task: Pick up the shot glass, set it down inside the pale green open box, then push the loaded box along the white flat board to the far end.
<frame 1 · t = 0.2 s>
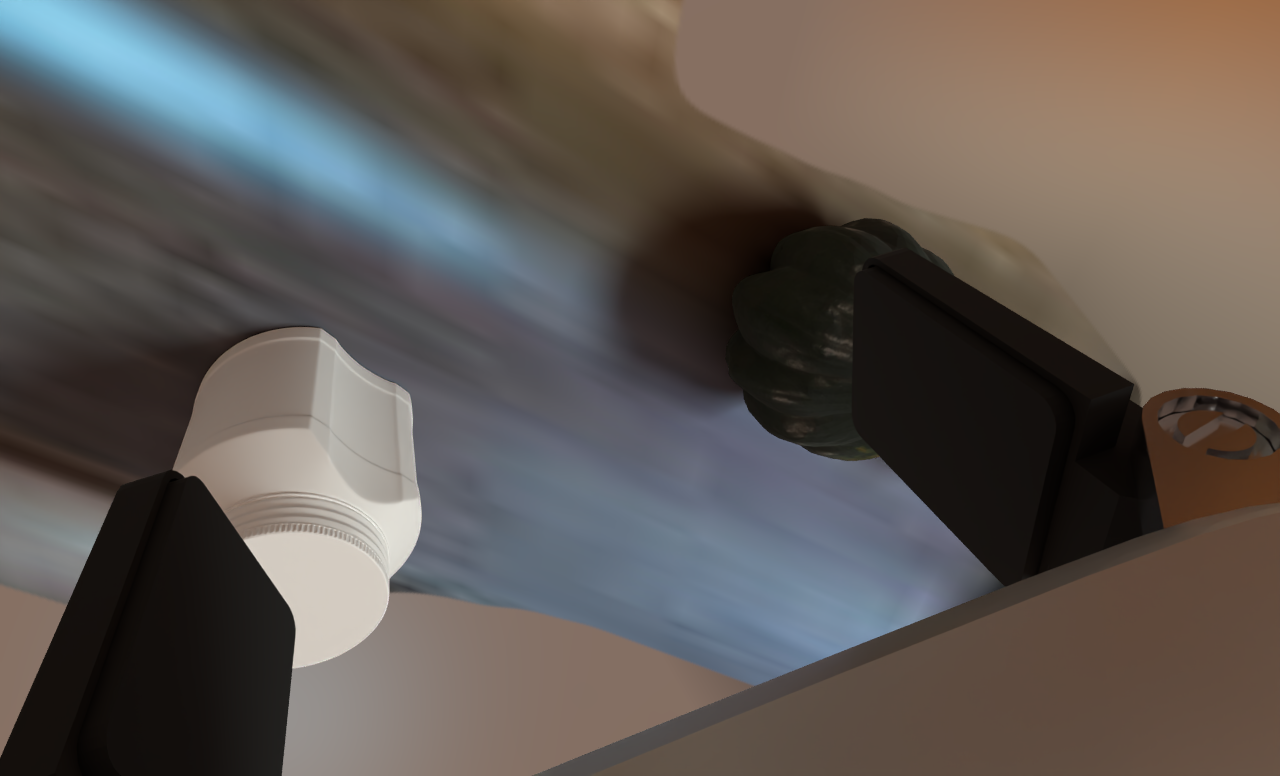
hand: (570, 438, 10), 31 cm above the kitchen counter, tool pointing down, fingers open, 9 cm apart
jar: (309, 411, 43), on the kitchen counter
squash: (797, 300, 50), on the kitchen counter
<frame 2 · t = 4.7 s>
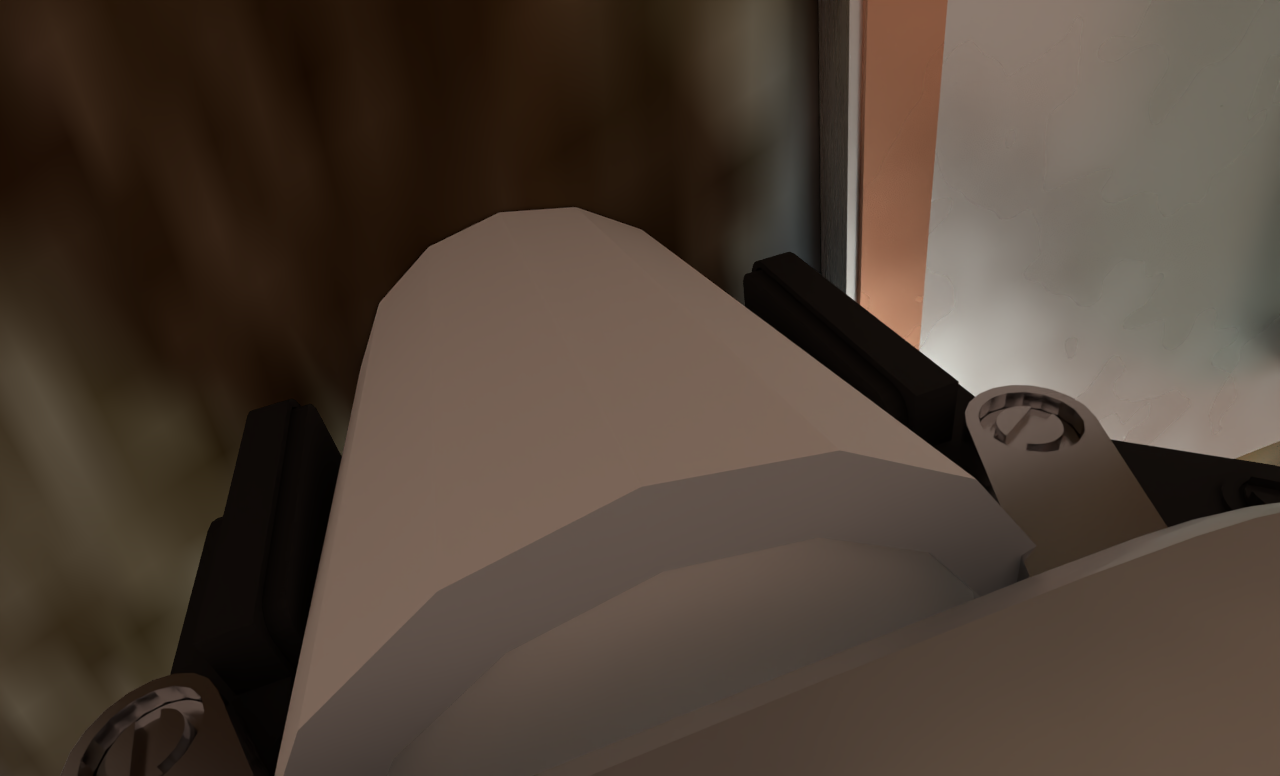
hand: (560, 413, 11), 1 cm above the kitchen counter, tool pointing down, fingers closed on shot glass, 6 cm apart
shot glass: (543, 369, 12), on the kitchen counter, touching gripper
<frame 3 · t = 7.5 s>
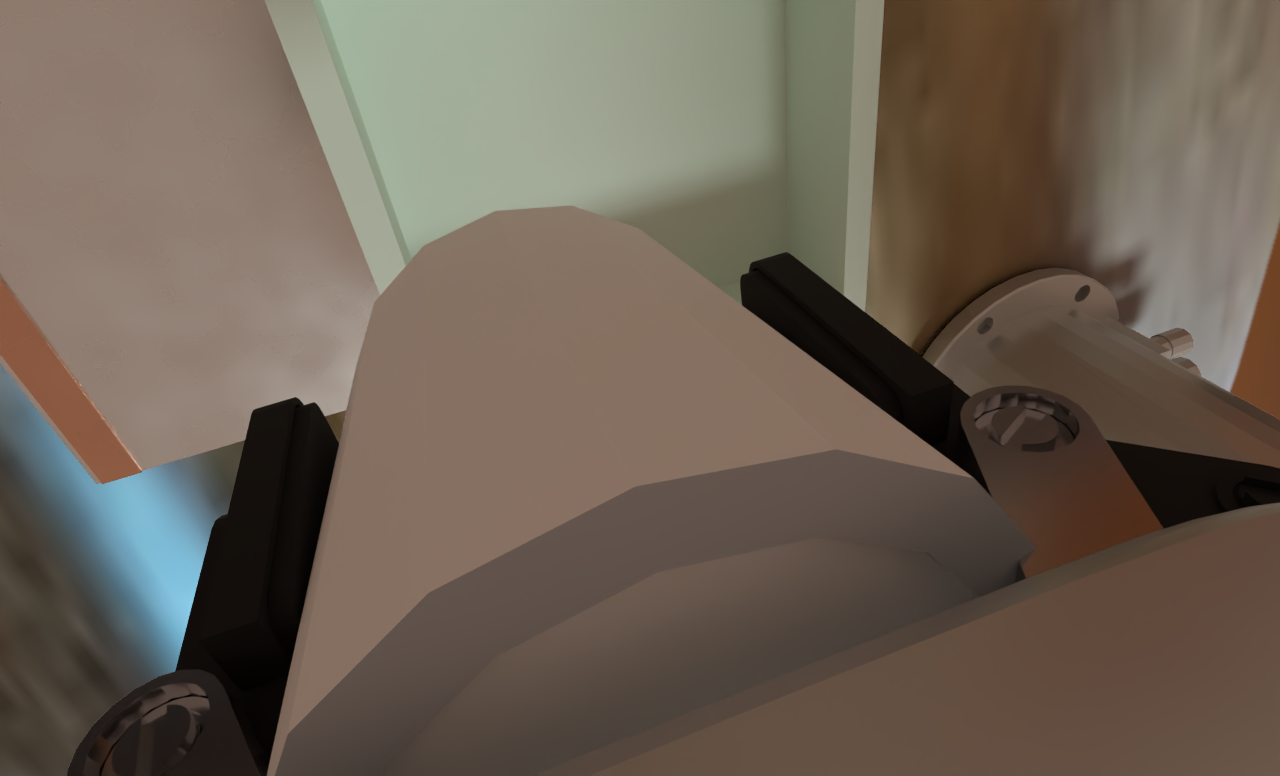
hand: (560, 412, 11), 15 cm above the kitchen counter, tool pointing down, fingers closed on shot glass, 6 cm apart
pale green open box: (603, 139, 20), point 4 cm above the kitchen counter, slide at 0.0 cm
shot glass: (539, 368, 12), point 14 cm above the kitchen counter, touching gripper
white flat board: (412, 143, 22), on the kitchen counter
when the fingers open (6 cm above the kitchen counter, at t = 10.3 s): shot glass drops 1 cm, resting on pale green open box.
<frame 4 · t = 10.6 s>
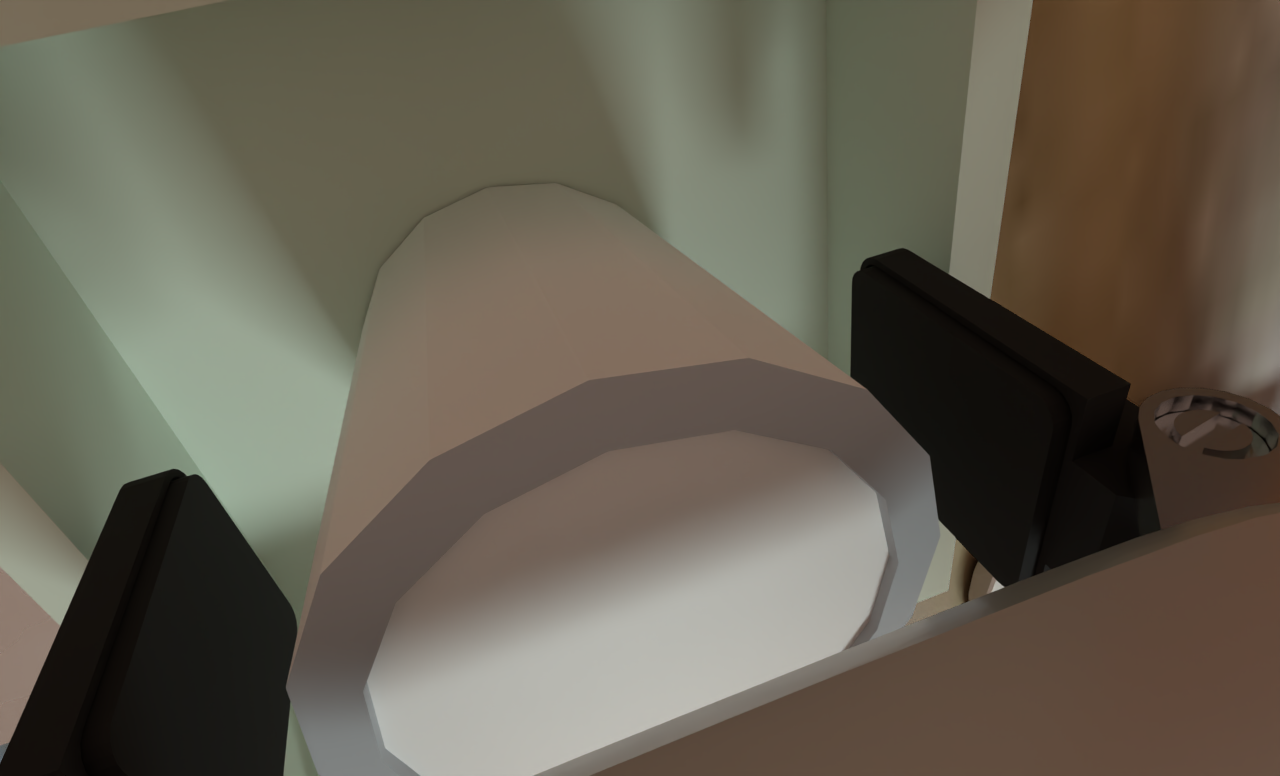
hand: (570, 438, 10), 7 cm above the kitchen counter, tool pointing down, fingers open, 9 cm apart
pale green open box: (533, 351, 12), point 4 cm above the kitchen counter, slide at 0.0 cm, touching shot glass
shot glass: (528, 332, 13), point 3 cm above the kitchen counter, touching pale green open box
white flat board: (264, 329, 15), on the kitchen counter
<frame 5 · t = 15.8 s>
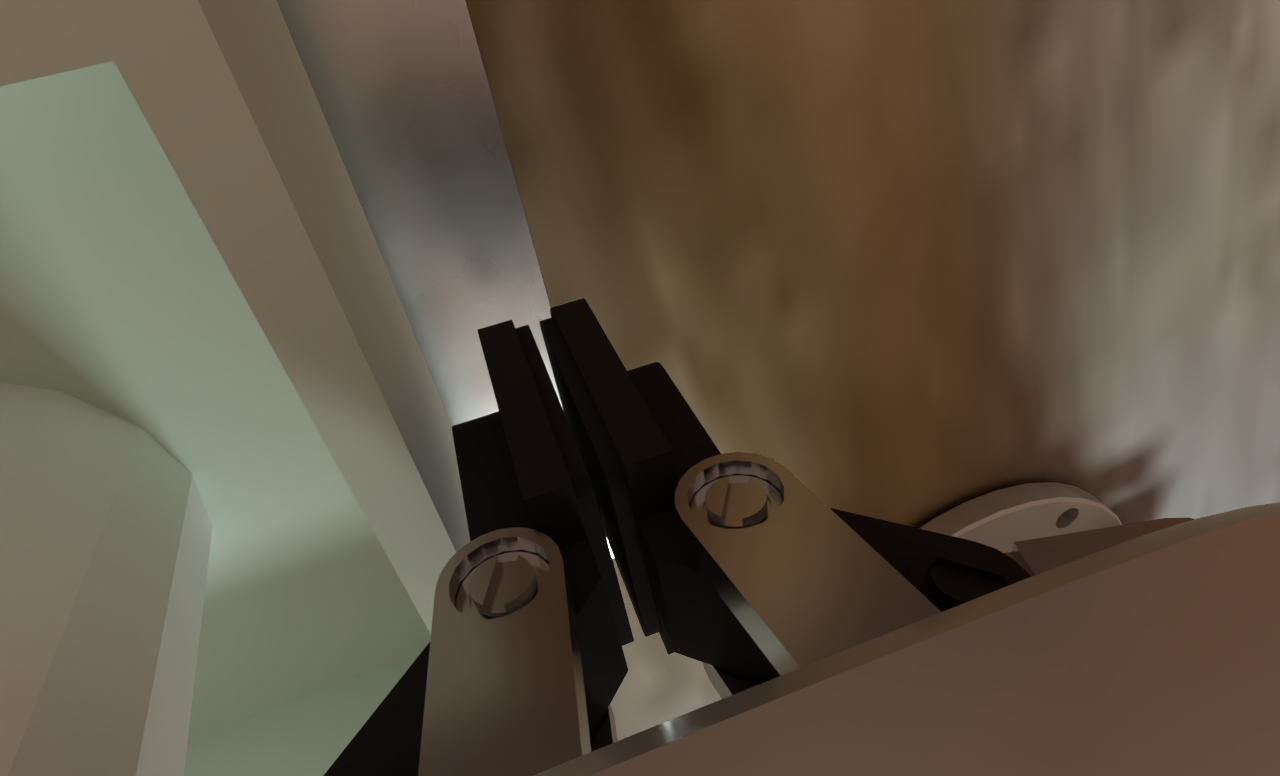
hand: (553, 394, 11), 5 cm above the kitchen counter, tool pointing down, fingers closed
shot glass: (11, 524, 11), point 3 cm above the kitchen counter, touching pale green open box
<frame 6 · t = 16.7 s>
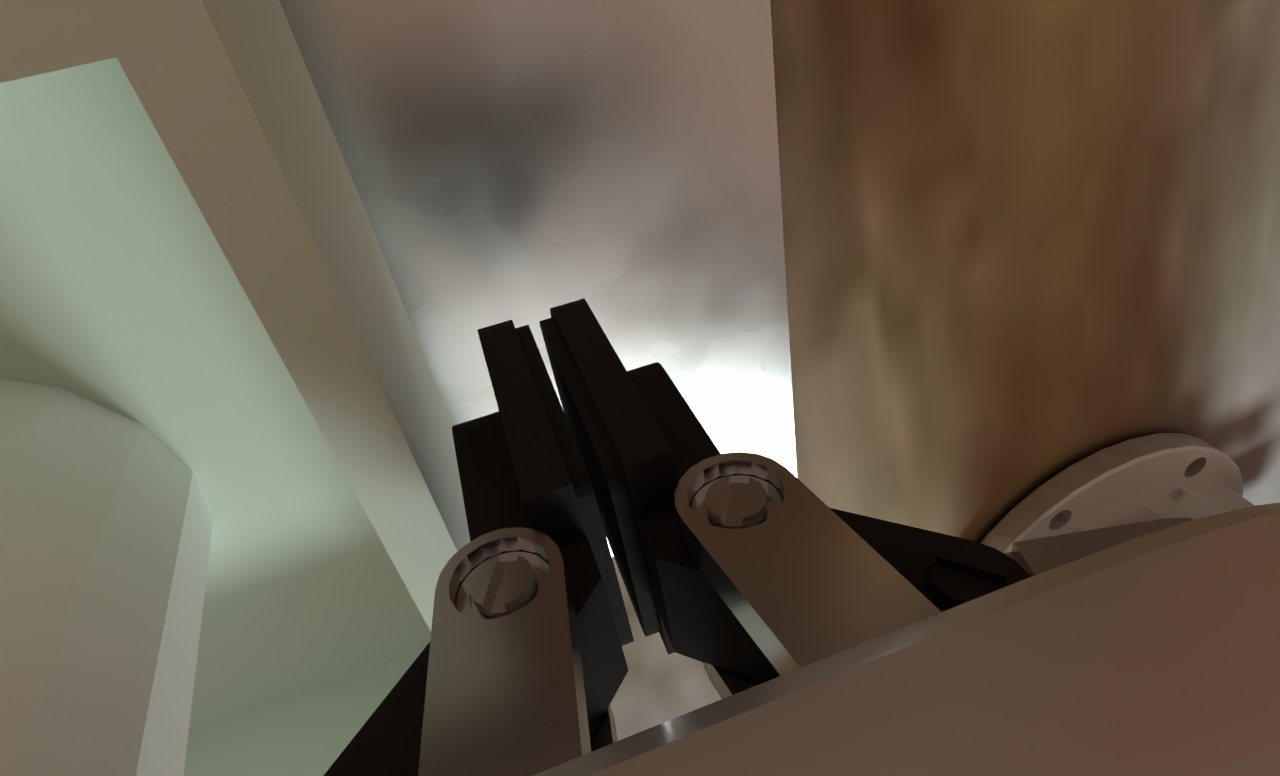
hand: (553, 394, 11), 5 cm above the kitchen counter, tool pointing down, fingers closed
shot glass: (11, 520, 11), point 3 cm above the kitchen counter, touching pale green open box
white flat board: (159, 386, 14), on the kitchen counter
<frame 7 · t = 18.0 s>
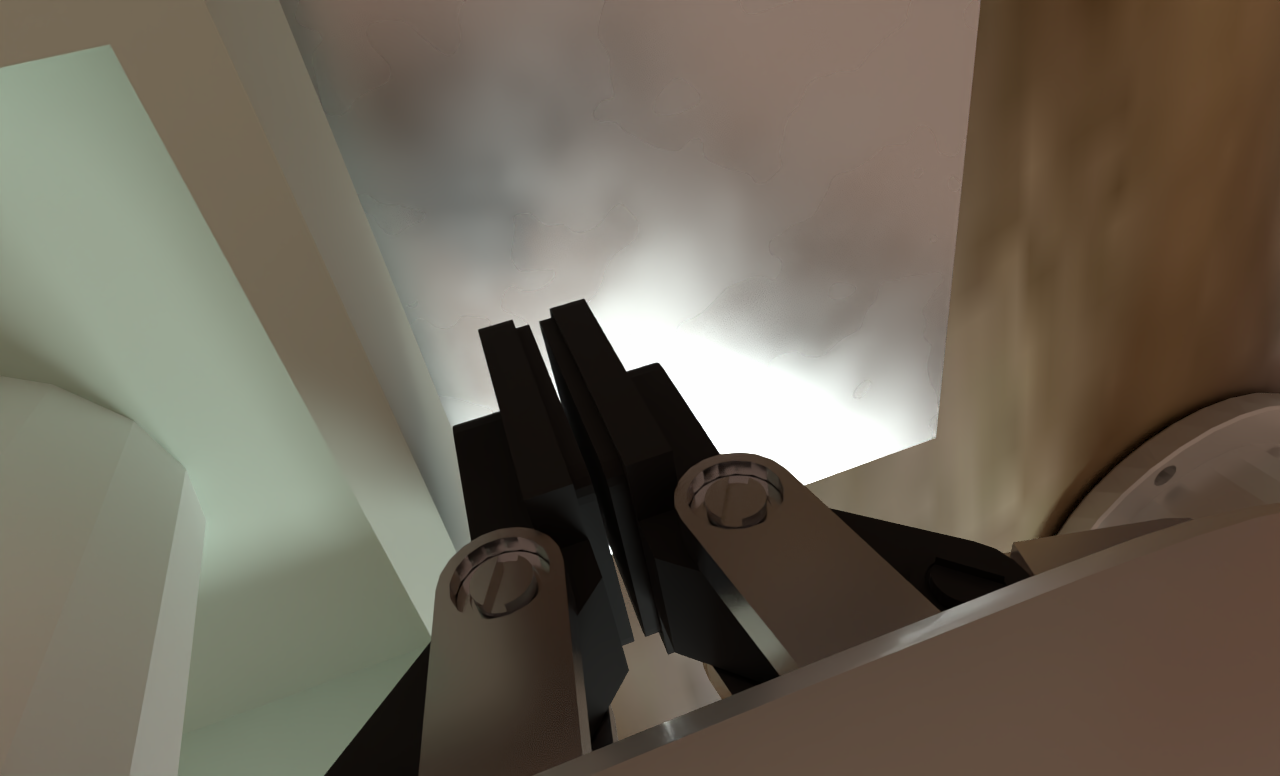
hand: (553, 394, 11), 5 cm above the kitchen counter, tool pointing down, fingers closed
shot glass: (0, 518, 11), point 3 cm above the kitchen counter, touching pale green open box
white flat board: (382, 316, 15), on the kitchen counter
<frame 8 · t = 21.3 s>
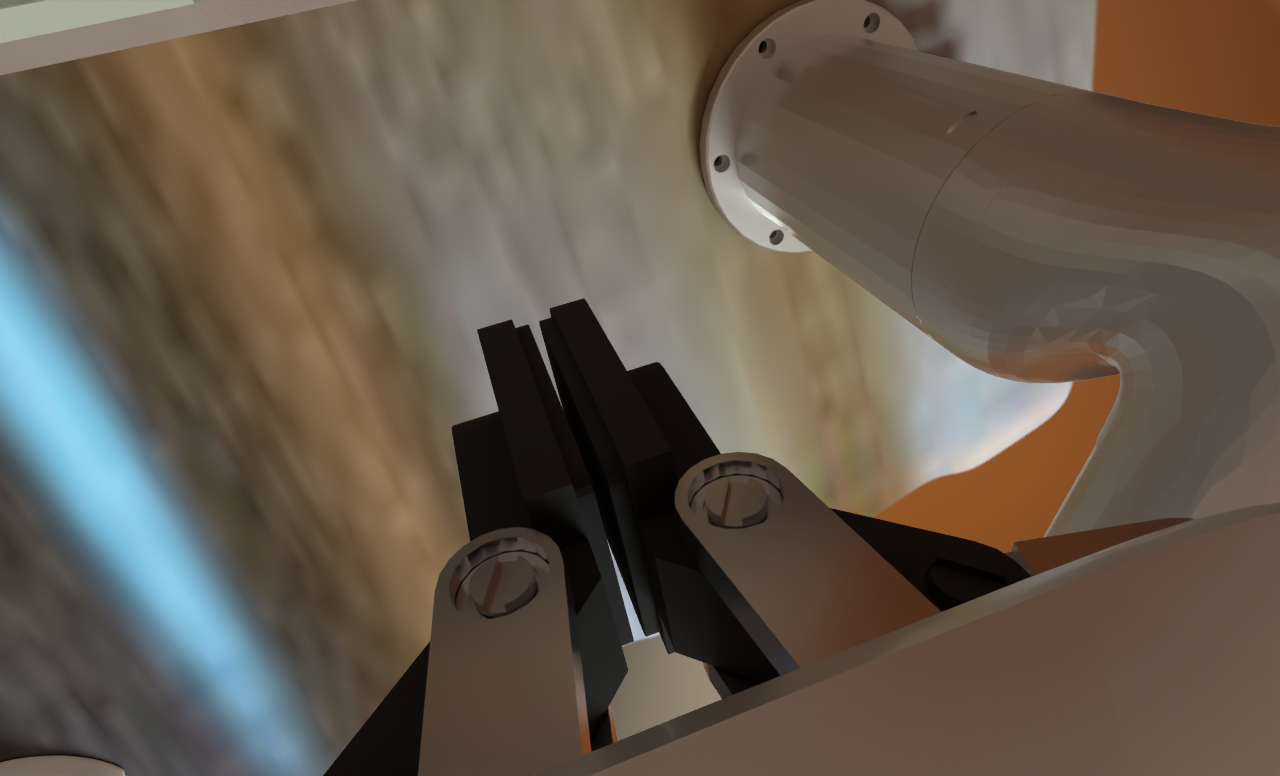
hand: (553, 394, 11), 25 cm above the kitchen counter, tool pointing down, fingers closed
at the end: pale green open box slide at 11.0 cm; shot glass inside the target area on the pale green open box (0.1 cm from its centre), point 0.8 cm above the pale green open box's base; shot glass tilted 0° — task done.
